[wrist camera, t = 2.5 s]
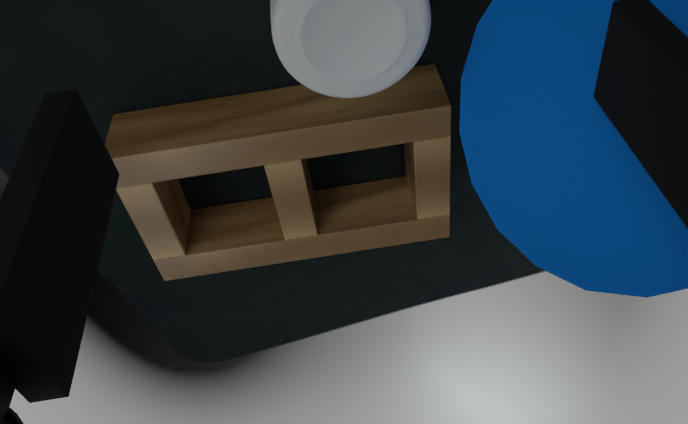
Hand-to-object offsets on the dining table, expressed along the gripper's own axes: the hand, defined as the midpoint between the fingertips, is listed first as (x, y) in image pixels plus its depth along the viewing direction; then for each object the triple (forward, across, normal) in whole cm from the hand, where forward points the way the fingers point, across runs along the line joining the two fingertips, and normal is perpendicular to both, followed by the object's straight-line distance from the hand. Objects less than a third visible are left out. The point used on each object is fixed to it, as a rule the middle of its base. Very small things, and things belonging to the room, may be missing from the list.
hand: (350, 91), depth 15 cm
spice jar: (+16, 0, 0) cm, 16 cm away
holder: (+16, -3, -15) cm, 22 cm away
